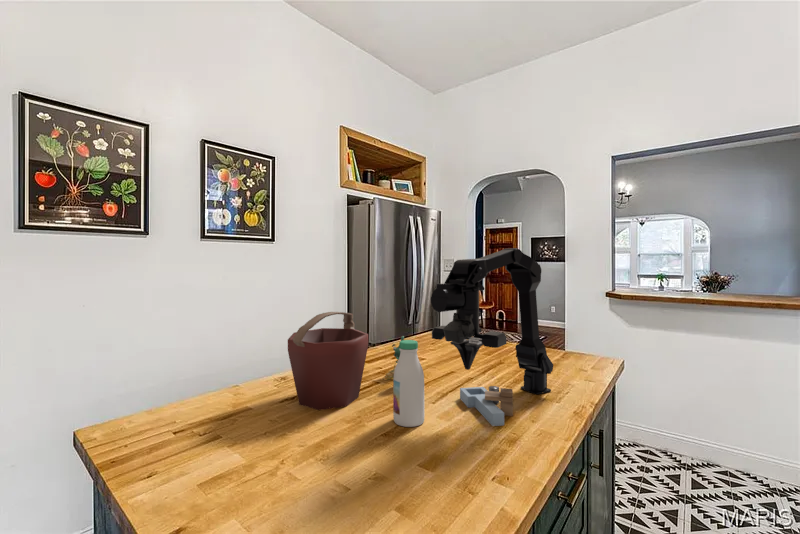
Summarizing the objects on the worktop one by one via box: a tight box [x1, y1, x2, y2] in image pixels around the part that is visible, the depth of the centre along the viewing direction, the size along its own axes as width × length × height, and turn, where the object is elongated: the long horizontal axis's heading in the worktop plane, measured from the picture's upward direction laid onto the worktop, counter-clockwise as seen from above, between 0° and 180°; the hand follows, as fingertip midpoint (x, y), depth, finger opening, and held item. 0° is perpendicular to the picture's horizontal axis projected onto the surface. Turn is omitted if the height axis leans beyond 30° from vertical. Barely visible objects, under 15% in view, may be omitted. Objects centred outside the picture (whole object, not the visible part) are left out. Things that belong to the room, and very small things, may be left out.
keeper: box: [485, 387, 514, 417], centre depth 100 cm, size 4×7×6 cm, turn 77°
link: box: [459, 386, 505, 427], centre depth 102 cm, size 19×7×3 cm, turn 9°
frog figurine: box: [382, 335, 405, 381], centre depth 134 cm, size 10×18×15 cm, turn 129°
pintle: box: [488, 385, 500, 405], centre depth 108 cm, size 3×3×4 cm
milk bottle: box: [392, 339, 425, 428], centre depth 95 cm, size 8×8×20 cm
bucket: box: [287, 311, 369, 411], centre depth 111 cm, size 24×22×25 cm
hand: (467, 369), depth 98 cm, fingers closed
